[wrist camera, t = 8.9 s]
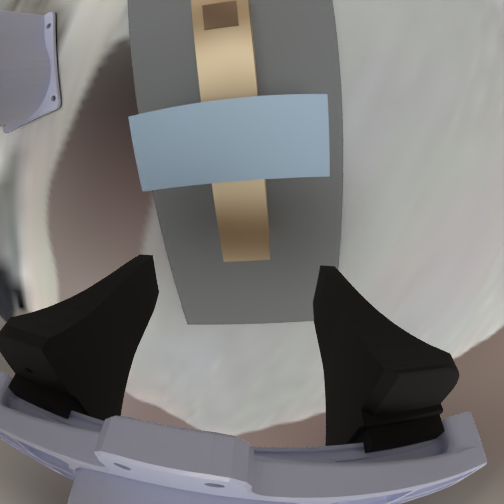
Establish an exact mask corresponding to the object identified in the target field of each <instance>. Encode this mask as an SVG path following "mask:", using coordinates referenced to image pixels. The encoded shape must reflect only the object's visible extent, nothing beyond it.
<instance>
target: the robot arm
mask: <svg viewBox="0 0 504 504" xmlns="http://www.w3.org/2000/svg"><path fill="white" fill-rule="evenodd" d="M50 25H51V26H50ZM49 26H50V28H49ZM54 97H56V99H55V100H54ZM60 106H61V98H60V90H59V81H58V70H57V57H56V30H55V12H49V13H47V14H45V15H38V14H31V13H24V12H14V11H0V126H3V130H4V132H5V133H9V132H11V131H13V130H15V129H17V128H18V127H20V126H22V125H24V124H26V123H28V122H30V121H32V120H34V119H37V118H39V117H41V116H43V115H45V114H47V113H50V112H52V111H54V110H57V109H58V108H59V107H60ZM158 294H159V290H158V285H157V279H156V273H155V267H154V261H153V255H138V256H137V257H135V258H133V259H132V260H130V261H129V262H127V263H126V264H124V265H123V266H121V267H120V268H119V269H117V270H116V271H114V272H113V273H111V274H110V275H108V276H107V277H105V278H104V279H102V280H101V281H99V282H97V283H96V284H94V285H93V286H91V287H89V288H88V289H86V290H84V291H83V292H81V293H79V294H77V295H75V296H73V297H71V298H69V299H66V300H64V301H62V302H60V303H57V304H55V305H53V306H50V307H47V308H44V309H41V310H38V311H35V312H32V313H28V314H24V315H20V316H15V317H11V318H10V319H9V320H8V321H7V323H6V324H5V325H4V327H3V328H2V329H1V331H0V352H1V354H2V355H3V357H4V358H5V360H6V361H7V362H8V364H9V365H10V367H11V368H12V369H13V371H14V372H15V373H16V374H15V376H14V378H13V379H12V378H11V377H10V376H9V375H7V374H6V373H4V372H2V371H0V438H1V439H2V440H4V441H5V442H7V443H8V444H10V445H11V446H13V447H15V448H16V449H18V450H19V451H21V452H22V453H24V454H26V455H27V456H29V457H31V458H32V459H34V460H36V461H38V462H39V463H41V464H43V465H45V466H47V467H48V468H50V469H52V470H54V471H56V472H58V473H60V474H62V475H64V476H66V477H68V478H70V479H72V480H74V483H73V486H72V490H71V493H70V496H69V500H68V503H67V504H401V503H404V502H407V501H410V500H414V499H416V498H419V497H422V496H425V495H428V494H431V493H434V492H437V491H439V490H442V489H445V488H447V487H450V486H452V485H453V484H455V483H457V482H459V481H460V480H462V479H463V478H465V477H467V476H469V475H470V474H472V473H474V472H475V471H477V470H478V469H480V468H481V467H483V466H484V465H486V463H487V459H486V456H485V453H484V450H483V446H482V443H481V440H480V437H479V434H478V431H477V428H476V425H475V423H474V420H473V417H472V414H471V412H470V411H468V412H465V413H461V414H458V415H454V416H451V417H448V418H446V419H444V420H443V421H441V418H440V415H439V414H441V413H442V412H443V408H442V406H441V402H442V401H443V400H444V399H445V398H446V396H447V395H448V394H449V393H450V392H451V391H452V389H453V388H454V387H455V385H456V384H457V381H458V378H459V371H458V369H457V367H456V365H455V363H454V361H453V358H452V356H451V355H450V353H447V352H445V351H443V350H440V349H438V348H436V347H433V346H431V345H429V344H427V343H425V342H423V341H421V340H420V339H418V338H416V337H414V336H412V335H411V334H409V333H407V332H406V331H404V330H403V329H401V328H400V327H398V326H397V325H395V324H394V323H393V322H391V321H390V320H389V319H387V318H386V317H385V316H384V315H382V314H381V313H380V312H379V311H378V310H376V309H375V308H374V307H373V306H372V305H371V304H370V303H369V302H368V301H367V300H366V299H365V298H364V297H363V296H362V295H361V294H360V293H359V292H358V291H357V290H356V289H355V288H354V287H353V286H352V285H351V284H350V283H349V282H348V281H347V279H346V278H345V277H344V276H343V275H342V274H341V273H340V272H339V271H338V270H337V268H336V267H335V266H323V265H320V270H319V275H318V280H317V285H316V290H315V294H314V299H313V314H314V324H315V329H316V334H317V339H318V343H319V348H320V353H321V358H322V363H323V369H324V380H325V397H326V446H318V447H253V446H250V444H249V443H248V442H246V441H244V440H242V439H239V438H237V437H235V436H232V435H226V434H221V433H216V432H209V431H201V430H193V429H187V428H179V427H174V426H169V425H163V424H158V423H153V422H148V421H144V420H139V419H135V418H131V417H123V416H121V409H122V403H123V398H124V393H125V388H126V384H127V380H128V375H129V372H130V368H131V365H132V361H133V358H134V355H135V352H136V349H137V347H138V345H139V343H140V340H141V338H142V336H143V334H144V331H145V329H146V327H147V325H148V322H149V320H150V318H151V316H152V313H153V311H154V308H155V305H156V301H157V298H158Z"/></svg>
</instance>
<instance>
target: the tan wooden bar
mask: <svg viewBox="0 0 504 504" xmlns="http://www.w3.org/2000/svg"><path fill="white" fill-rule="evenodd" d="M191 8H192V20H193V31H194V41H195V51H196V61H197V70H198V79H199V88H200V97H201V102H207V101H215V100H223V99H232V98H241V97H253V96H259V90H258V79H257V69H256V59H255V48H254V39H253V29H252V20H251V10H250V2H249V0H191ZM212 189H213V196H214V203H215V210H216V217H217V223H218V230H219V236H220V243H221V249H222V255H223V261H224V262H233V261H253V260H270V229H269V215H268V200H267V187H266V179H260V180H246V181H233V182H222V183H212Z"/></svg>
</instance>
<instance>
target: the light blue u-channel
mask: <svg viewBox="0 0 504 504" xmlns="http://www.w3.org/2000/svg"><path fill="white" fill-rule="evenodd" d="M129 124H130V130H131V135H132V142H133V147H134V153H135V158H136V163H137V168H138V173H139V178H140V183H141V187H142V191H150V190H158V189H165V188H174V187H182V186H191V185H201V184H211V183H222V182H233V181H246V180H260V179H277V178H298V177H329V176H330V153H329V117H328V97H327V94H287V95H267V96H253V97H241V98H232V99H223V100H215V101H207V102H200V103H194V104H188V105H182V106H176V107H171V108H166V109H161V110H156V111H151V112H146V113H142V114H138V115H134V116H130V117H129Z"/></svg>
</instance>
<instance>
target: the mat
mask: <svg viewBox="0 0 504 504" xmlns="http://www.w3.org/2000/svg"><path fill="white" fill-rule="evenodd" d="M249 2H250V10H251V20H252V29H253V39H254V48H255V59H256V69H257V79H258V90H259V96H267V95H287V94H327V97H328V117H329V153H330V176H329V177H298V178H277V179H266V187H267V200H268V215H269V229H270V260H253V261H233V262H224V261H223V255H222V249H221V243H220V236H219V230H218V223H217V217H216V210H215V203H214V196H213V189H212V183H211V184H201V185H191V186H182V187H174V188H165V189H158V190H152V192H153V196H154V201H155V205H156V210H157V214H158V219H159V223H160V227H161V231H162V235H163V239H164V243H165V247H166V251H167V255H168V259H169V262H170V266H171V270H172V273H173V277H174V281H175V284H176V288H177V291H178V295H179V298H180V301H181V305H182V308H183V311H184V315H185V318H186V321H187V324H258V323H282V322H300V321H314V314H313V299H314V294H315V290H316V285H317V280H318V275H319V270H320V265H323V266H335V267H336V268H337V270H338V265H339V252H340V237H341V219H342V194H343V119H342V94H341V77H340V64H339V52H338V42H337V32H336V24H335V16H334V8H333V1H332V0H249ZM128 17H129V33H130V46H131V56H132V67H133V76H134V84H135V92H136V100H137V107H138V114H142V113H146V112H151V111H156V110H161V109H166V108H171V107H176V106H182V105H188V104H194V103H200V102H201V97H200V88H199V79H198V70H197V61H196V51H195V41H194V31H193V20H192V8H191V0H128Z"/></svg>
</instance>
